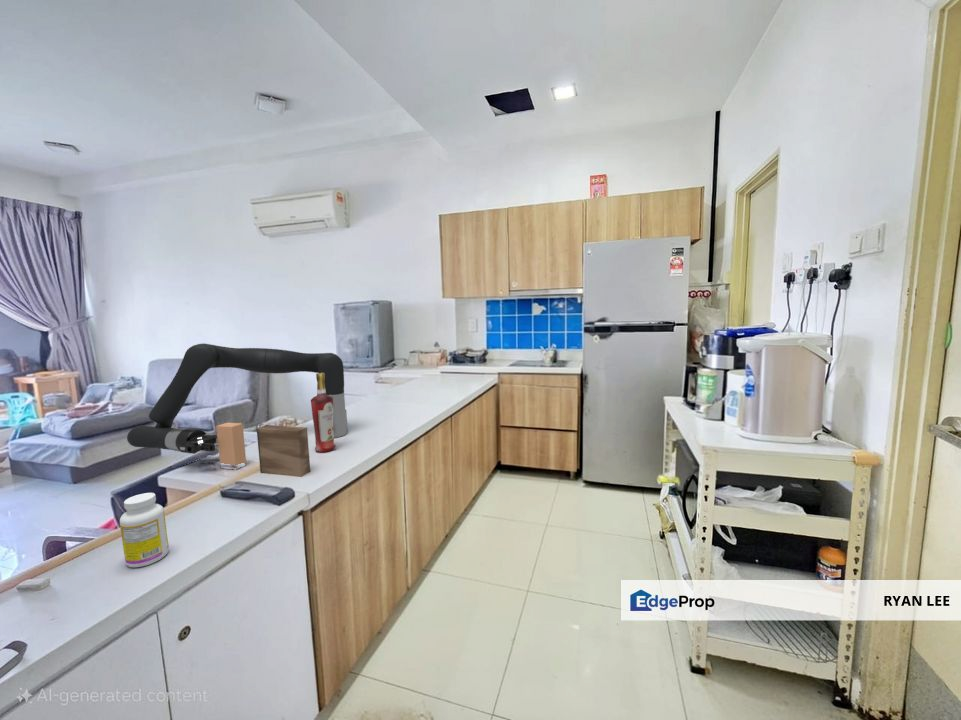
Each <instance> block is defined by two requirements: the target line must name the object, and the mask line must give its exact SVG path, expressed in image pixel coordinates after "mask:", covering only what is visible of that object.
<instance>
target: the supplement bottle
mask: <svg viewBox="0 0 961 720" xmlns="http://www.w3.org/2000/svg"><path fill="white" fill-rule="evenodd" d="M156 501H157V497H156V494H155V493H154V492H146V493H145V492H144V493H140V494H136V495H133V496H130V497H128V498H126V499H125V500H124V501H123V506H124V510H126V512H124V513H123V514H122V515H121V517H120V519H119V529H120V534H121V541H122V546H123V547H122V549H123V554H124V561H125V564H126V566H127V567H128V568H141V567H147V566H148V565H152V564H155V563H156V562H158V561H160V560H161V559H163V558H164V557H165V556H166V555H167V554H168V553H169V551H170V547H169V540H168V533H167V524H166V516H165V508H164V507H163V506H162V505H161V504H159V503H156Z"/></svg>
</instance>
